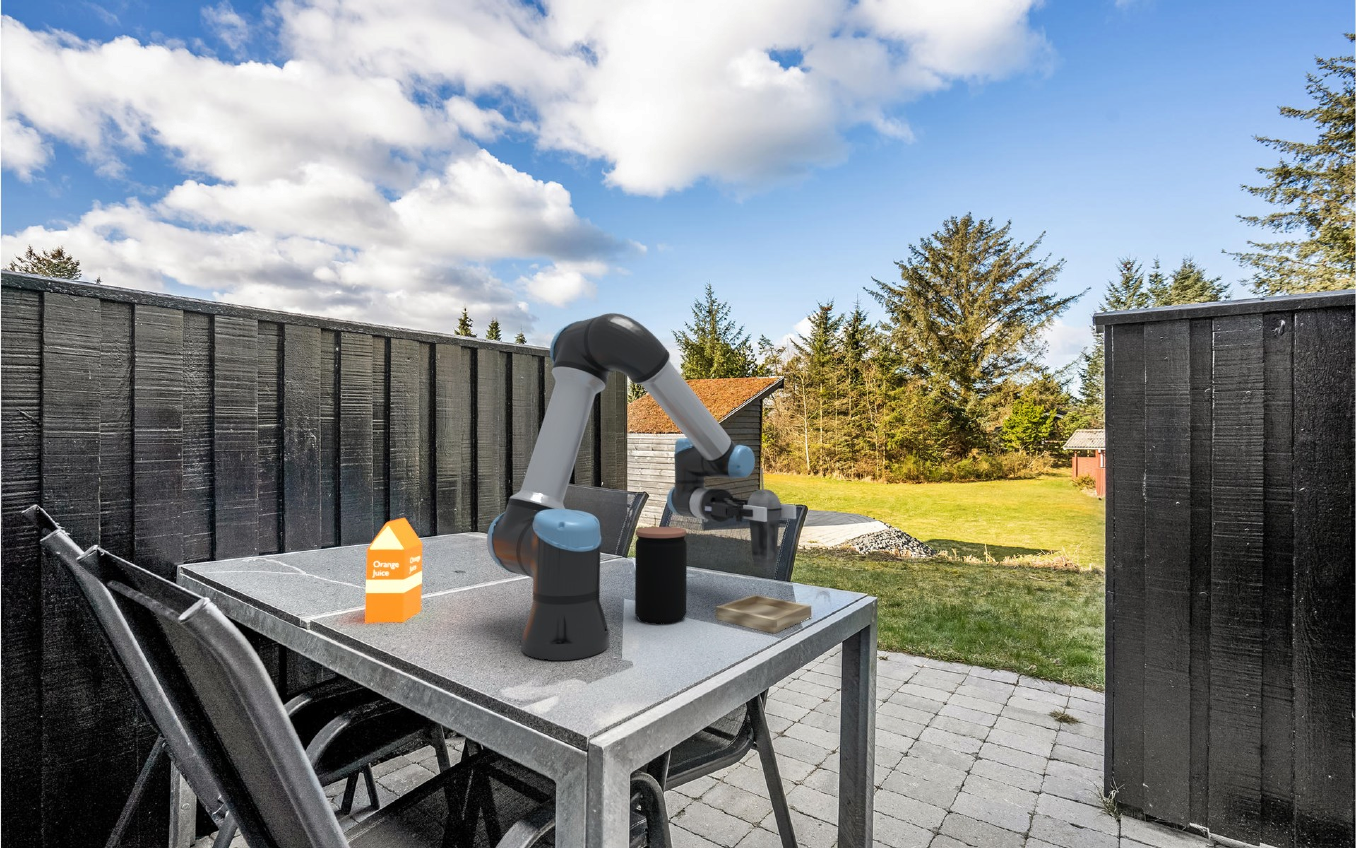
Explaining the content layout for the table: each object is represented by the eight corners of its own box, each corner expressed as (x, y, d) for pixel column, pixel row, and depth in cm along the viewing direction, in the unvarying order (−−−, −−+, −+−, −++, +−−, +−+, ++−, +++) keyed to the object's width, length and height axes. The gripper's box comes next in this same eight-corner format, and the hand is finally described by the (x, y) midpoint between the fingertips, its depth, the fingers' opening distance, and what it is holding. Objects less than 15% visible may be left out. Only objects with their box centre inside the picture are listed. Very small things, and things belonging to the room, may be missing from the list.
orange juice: (421, 611, 125) (423, 517, 126) (403, 623, 116) (406, 522, 117) (384, 611, 125) (387, 517, 126) (363, 623, 116) (366, 522, 117)
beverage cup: (787, 563, 122) (786, 467, 123) (774, 569, 116) (773, 468, 117) (755, 560, 126) (754, 467, 127) (741, 565, 119) (740, 468, 120)
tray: (716, 619, 119) (716, 606, 120) (755, 605, 130) (755, 594, 130) (774, 633, 110) (774, 620, 110) (811, 618, 120) (811, 605, 121)
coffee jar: (688, 611, 125) (688, 527, 126) (684, 626, 114) (684, 534, 115) (639, 610, 126) (639, 526, 127) (630, 624, 116) (631, 533, 116)
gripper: (746, 517, 142) (816, 528, 122) (676, 523, 131) (741, 536, 111) (746, 486, 142) (815, 492, 123) (676, 490, 131) (741, 497, 112)
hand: (780, 513), depth 117 cm, fingers closed on beverage cup, 7 cm apart
